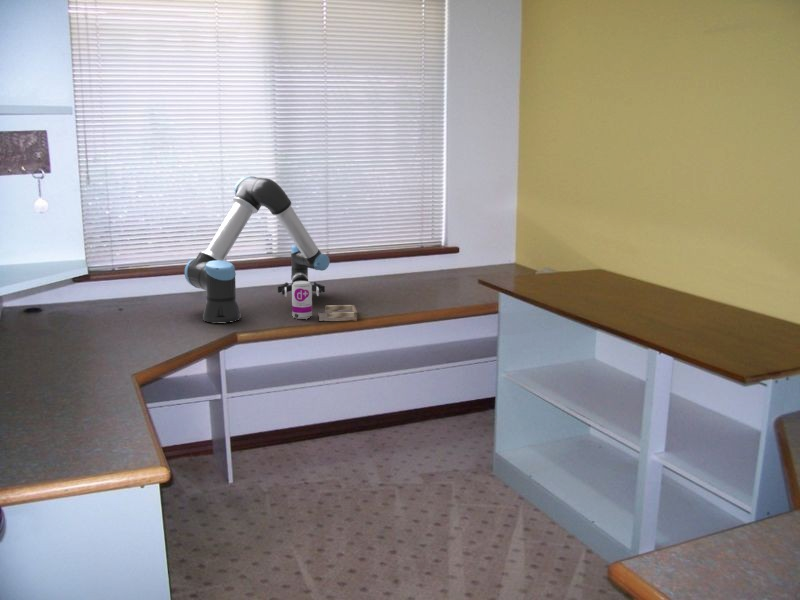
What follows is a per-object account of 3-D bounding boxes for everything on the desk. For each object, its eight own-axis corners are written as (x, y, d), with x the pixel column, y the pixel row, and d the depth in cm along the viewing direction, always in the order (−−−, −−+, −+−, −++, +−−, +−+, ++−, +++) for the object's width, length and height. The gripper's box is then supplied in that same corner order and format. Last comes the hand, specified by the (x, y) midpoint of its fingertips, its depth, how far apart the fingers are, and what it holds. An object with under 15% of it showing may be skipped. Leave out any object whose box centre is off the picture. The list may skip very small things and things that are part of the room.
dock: (318, 322, 307) (318, 313, 306) (317, 312, 321) (317, 305, 320) (358, 321, 309) (358, 313, 308) (354, 312, 324) (354, 304, 323)
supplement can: (310, 320, 309) (310, 284, 305) (290, 320, 309) (290, 284, 306) (313, 315, 317) (313, 280, 313) (293, 315, 317) (293, 280, 313)
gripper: (328, 290, 343) (331, 301, 322) (272, 291, 339) (272, 302, 318) (328, 274, 341) (331, 284, 320) (272, 275, 337) (272, 285, 316)
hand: (302, 293), depth 319 cm, fingers open, 13 cm apart
